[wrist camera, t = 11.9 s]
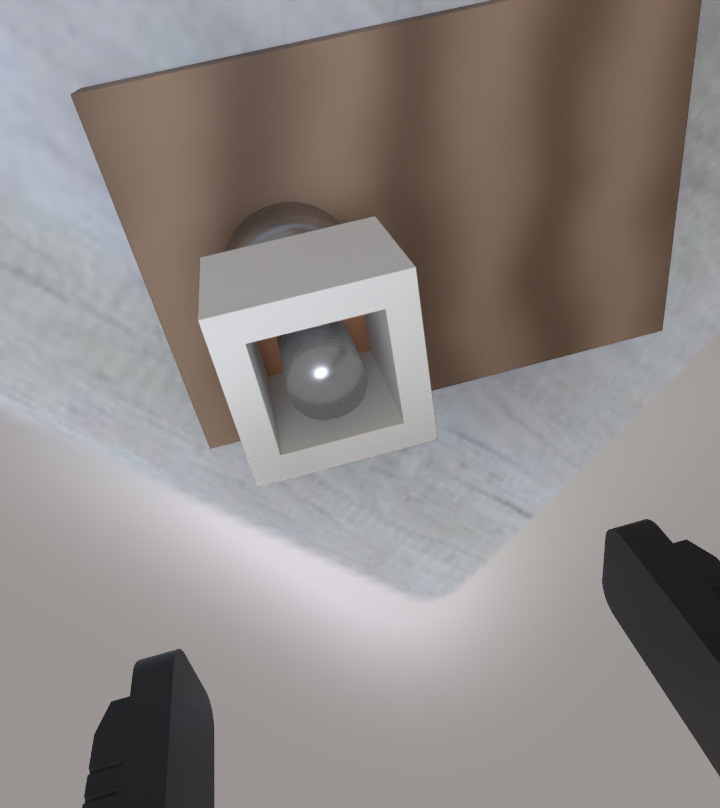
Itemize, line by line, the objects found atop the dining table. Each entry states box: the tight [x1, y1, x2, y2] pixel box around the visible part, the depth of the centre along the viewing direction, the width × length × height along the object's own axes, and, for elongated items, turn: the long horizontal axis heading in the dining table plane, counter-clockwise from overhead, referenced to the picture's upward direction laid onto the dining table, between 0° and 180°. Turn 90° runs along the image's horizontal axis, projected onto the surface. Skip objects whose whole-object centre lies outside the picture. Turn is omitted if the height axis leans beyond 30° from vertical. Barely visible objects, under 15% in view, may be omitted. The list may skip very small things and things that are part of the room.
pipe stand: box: [71, 0, 701, 449], centre depth 24 cm, size 24×16×12 cm, turn 100°
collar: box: [198, 216, 437, 488], centre depth 20 cm, size 6×6×5 cm
